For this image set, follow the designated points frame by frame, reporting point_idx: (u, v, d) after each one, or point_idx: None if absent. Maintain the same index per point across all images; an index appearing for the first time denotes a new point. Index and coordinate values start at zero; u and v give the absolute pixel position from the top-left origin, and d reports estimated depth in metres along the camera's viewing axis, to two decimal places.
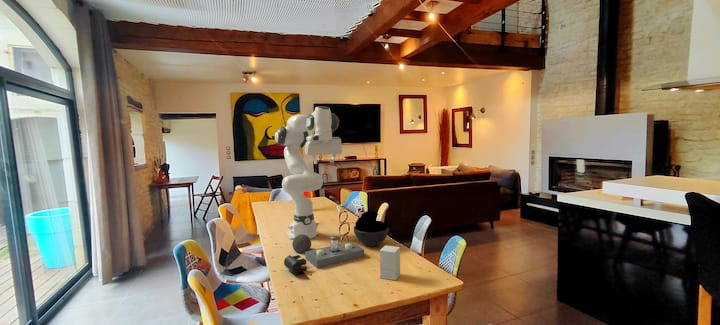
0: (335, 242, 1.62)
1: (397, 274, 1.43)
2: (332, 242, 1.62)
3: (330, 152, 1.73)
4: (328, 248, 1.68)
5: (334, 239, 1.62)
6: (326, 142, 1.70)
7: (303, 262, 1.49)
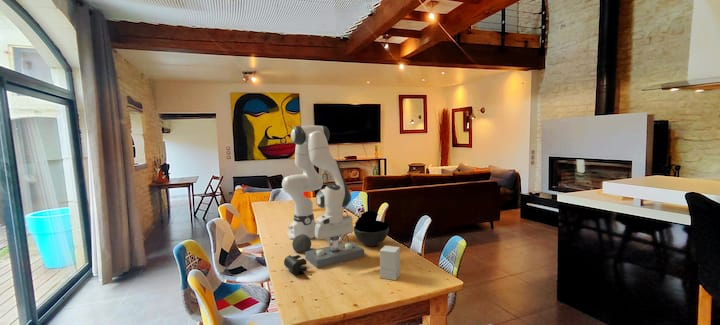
0: (335, 242, 1.62)
1: (397, 274, 1.43)
2: (332, 242, 1.62)
3: (341, 233, 1.64)
4: (328, 248, 1.68)
5: (334, 239, 1.62)
6: (337, 224, 1.61)
7: (303, 262, 1.49)
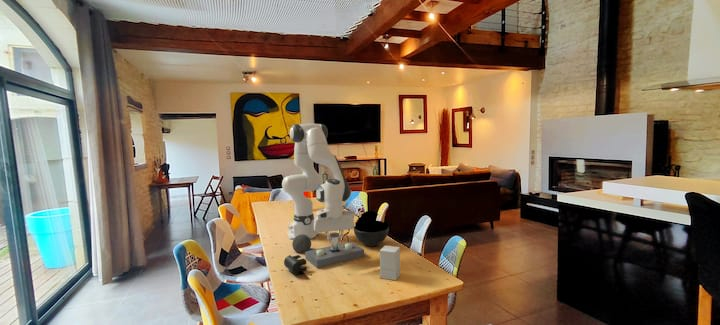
0: (335, 239, 1.62)
1: (397, 274, 1.43)
2: (332, 239, 1.62)
3: (340, 228, 1.63)
4: (328, 248, 1.68)
5: (334, 236, 1.62)
6: (335, 218, 1.60)
7: (303, 262, 1.49)
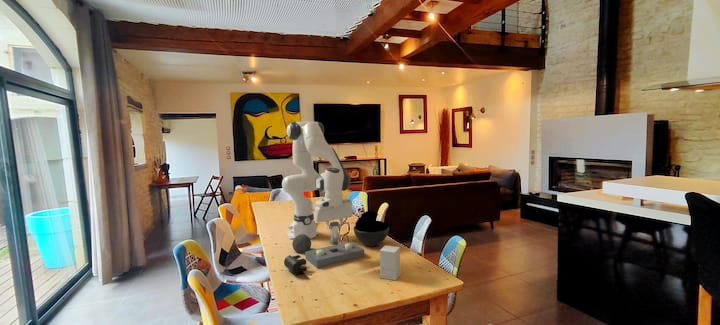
0: (335, 228, 1.62)
1: (397, 274, 1.43)
2: (332, 228, 1.62)
3: (340, 216, 1.63)
4: (328, 248, 1.68)
5: (334, 225, 1.61)
6: (336, 207, 1.60)
7: (303, 262, 1.49)
